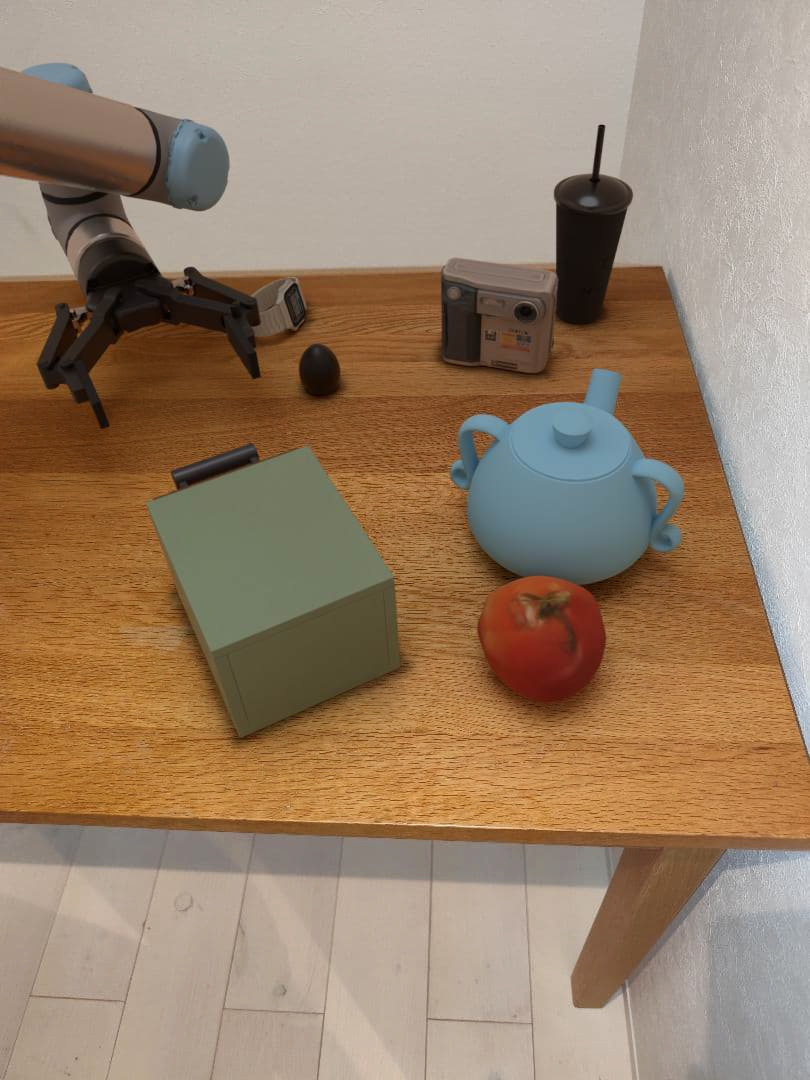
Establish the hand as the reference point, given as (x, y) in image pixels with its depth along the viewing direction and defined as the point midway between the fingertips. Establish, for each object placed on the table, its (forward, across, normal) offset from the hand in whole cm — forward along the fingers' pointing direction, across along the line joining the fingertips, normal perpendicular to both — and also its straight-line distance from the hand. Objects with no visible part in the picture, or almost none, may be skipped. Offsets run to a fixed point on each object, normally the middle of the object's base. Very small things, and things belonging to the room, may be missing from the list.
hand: (179, 390), depth 76 cm
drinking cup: (-4, -44, -9) cm, 45 cm away
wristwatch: (-18, -15, -9) cm, 25 cm away
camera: (-1, -32, -9) cm, 34 cm away
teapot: (+21, -26, -9) cm, 35 cm away
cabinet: (+21, 0, -9) cm, 23 cm away
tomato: (+33, -15, -9) cm, 38 cm away
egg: (-5, -14, -9) cm, 18 cm away
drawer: (+17, 0, -8) cm, 19 cm away
